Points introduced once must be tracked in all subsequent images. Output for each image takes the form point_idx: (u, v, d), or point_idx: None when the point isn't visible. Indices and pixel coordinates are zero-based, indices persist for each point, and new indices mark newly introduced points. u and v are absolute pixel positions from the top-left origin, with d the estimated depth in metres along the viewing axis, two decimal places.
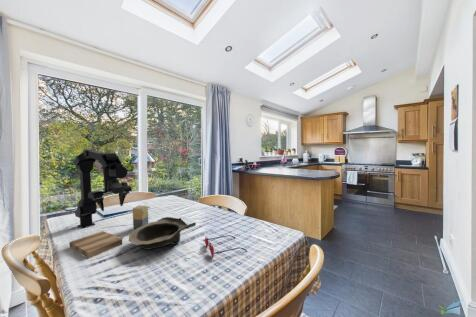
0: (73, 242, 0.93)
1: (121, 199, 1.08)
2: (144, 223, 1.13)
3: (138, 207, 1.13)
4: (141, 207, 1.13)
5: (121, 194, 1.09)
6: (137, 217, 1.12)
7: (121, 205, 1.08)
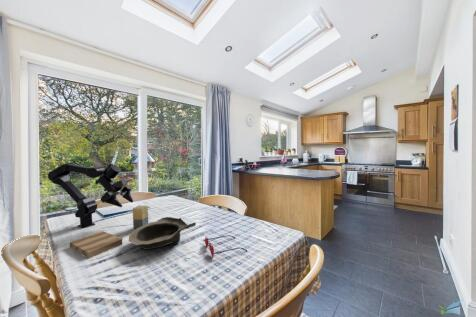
0: (73, 242, 0.93)
1: (128, 197, 1.20)
2: (144, 223, 1.13)
3: (138, 207, 1.13)
4: (141, 207, 1.13)
5: (126, 194, 1.20)
6: (137, 217, 1.12)
7: (132, 201, 1.19)
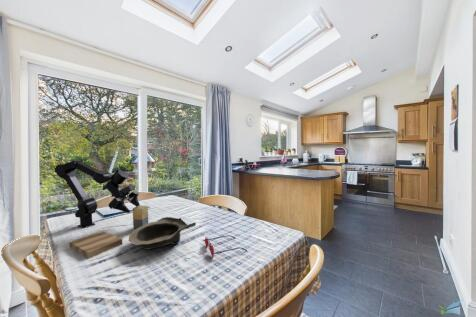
0: (73, 242, 0.93)
1: (136, 202, 1.20)
2: (144, 223, 1.13)
3: (138, 207, 1.13)
4: (141, 207, 1.13)
5: (133, 199, 1.20)
6: (137, 217, 1.12)
7: None
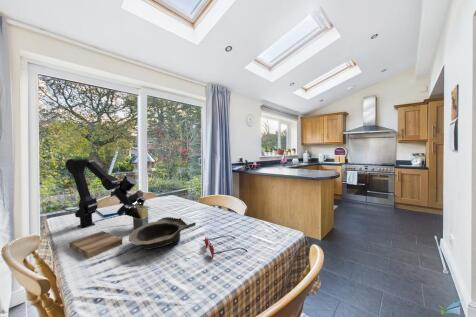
0: (73, 242, 0.93)
1: None
2: (144, 223, 1.13)
3: (138, 207, 1.13)
4: (141, 207, 1.13)
5: None
6: None
7: None
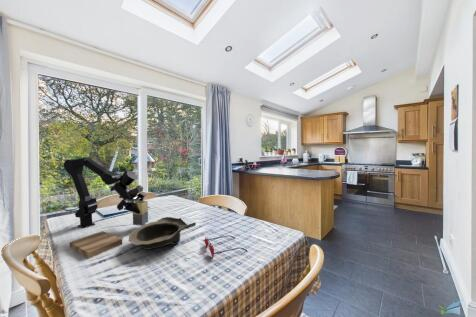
0: (73, 242, 0.93)
1: None
2: (144, 218, 1.13)
3: (138, 202, 1.13)
4: (141, 202, 1.13)
5: None
6: None
7: None
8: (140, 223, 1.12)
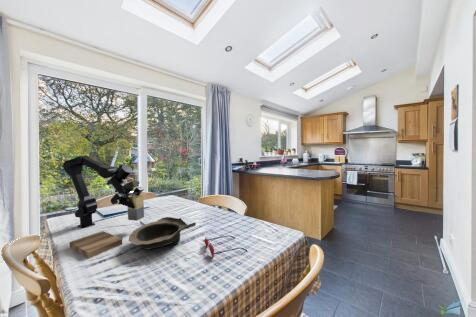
0: (73, 242, 0.93)
1: None
2: (139, 213, 1.09)
3: (133, 196, 1.10)
4: (136, 197, 1.09)
5: None
6: None
7: None
8: (135, 218, 1.08)
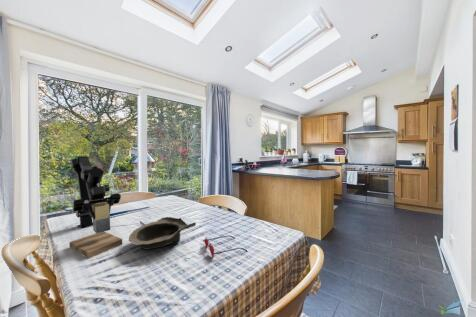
0: (73, 242, 0.93)
1: None
2: (100, 225, 0.93)
3: (98, 204, 0.95)
4: (99, 205, 0.94)
5: None
6: None
7: None
8: (95, 230, 0.93)
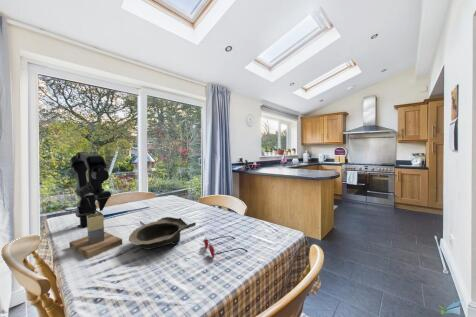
0: (73, 242, 0.93)
1: None
2: (94, 236, 0.92)
3: (92, 215, 0.94)
4: (93, 216, 0.93)
5: None
6: (88, 227, 0.93)
7: (100, 210, 1.05)
8: (89, 241, 0.92)
